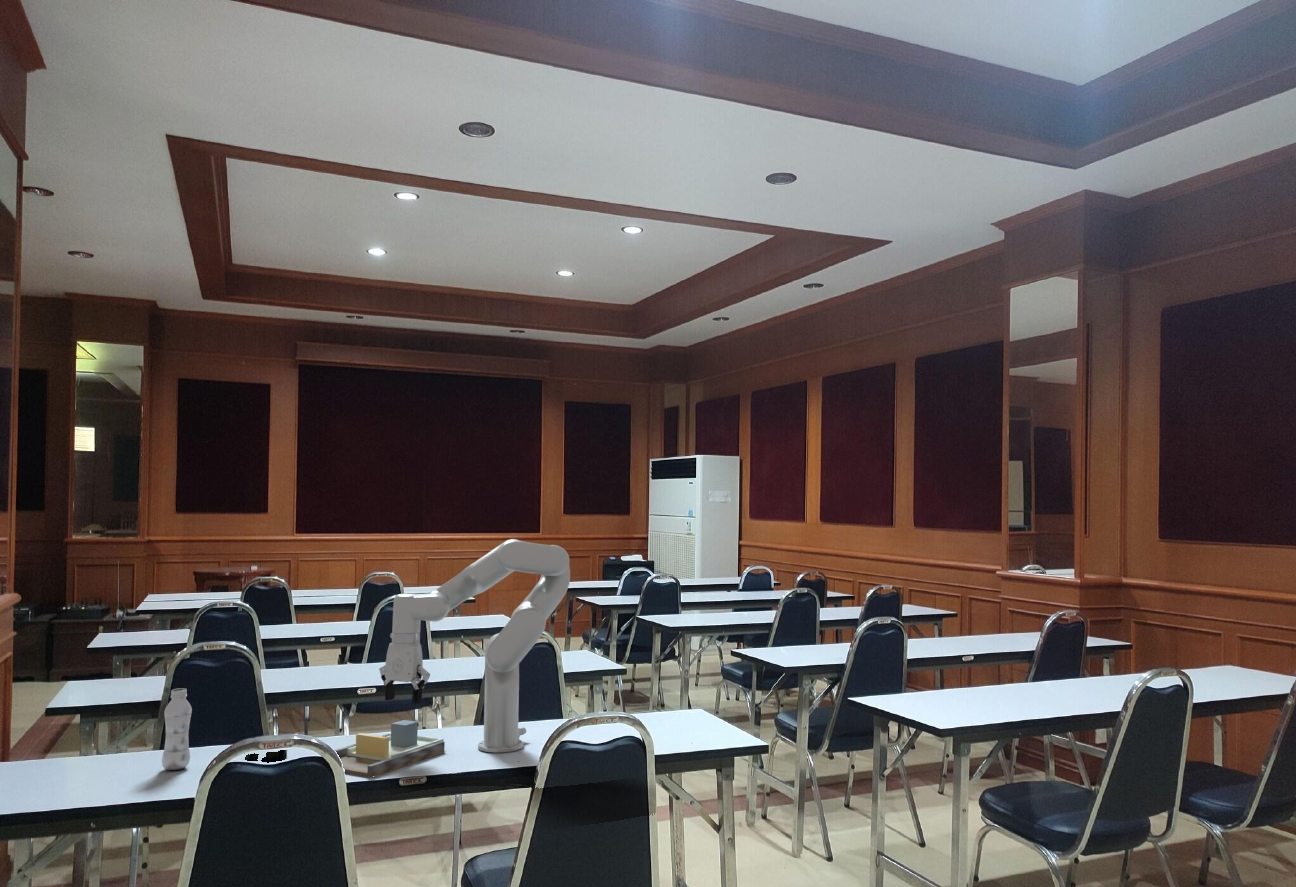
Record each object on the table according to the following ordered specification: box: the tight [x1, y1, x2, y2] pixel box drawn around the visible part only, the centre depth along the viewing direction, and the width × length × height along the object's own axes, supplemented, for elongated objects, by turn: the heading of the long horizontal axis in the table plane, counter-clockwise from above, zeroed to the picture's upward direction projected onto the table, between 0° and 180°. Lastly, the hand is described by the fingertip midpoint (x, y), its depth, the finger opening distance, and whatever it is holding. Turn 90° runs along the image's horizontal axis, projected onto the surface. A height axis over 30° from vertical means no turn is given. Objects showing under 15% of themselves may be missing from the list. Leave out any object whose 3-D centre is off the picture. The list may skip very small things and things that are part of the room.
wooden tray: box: [347, 732, 445, 761], centre depth 248 cm, size 20×16×6 cm
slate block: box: [390, 719, 419, 748], centre depth 251 cm, size 5×5×6 cm
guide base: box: [334, 733, 446, 779], centre depth 243 cm, size 28×20×3 cm
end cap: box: [245, 749, 288, 763], centre depth 233 cm, size 10×7×7 cm
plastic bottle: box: [161, 687, 193, 771], centre depth 234 cm, size 6×7×20 cm
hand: (403, 701), depth 252 cm, fingers open, 9 cm apart
